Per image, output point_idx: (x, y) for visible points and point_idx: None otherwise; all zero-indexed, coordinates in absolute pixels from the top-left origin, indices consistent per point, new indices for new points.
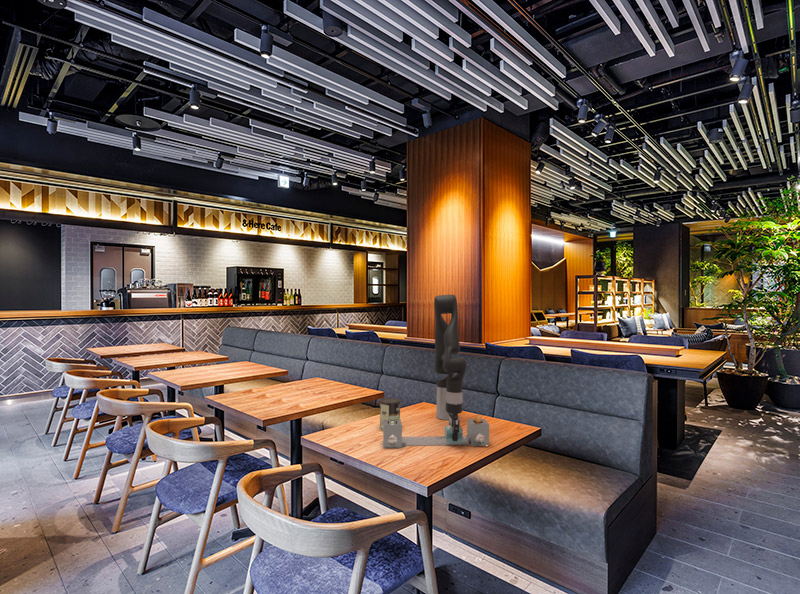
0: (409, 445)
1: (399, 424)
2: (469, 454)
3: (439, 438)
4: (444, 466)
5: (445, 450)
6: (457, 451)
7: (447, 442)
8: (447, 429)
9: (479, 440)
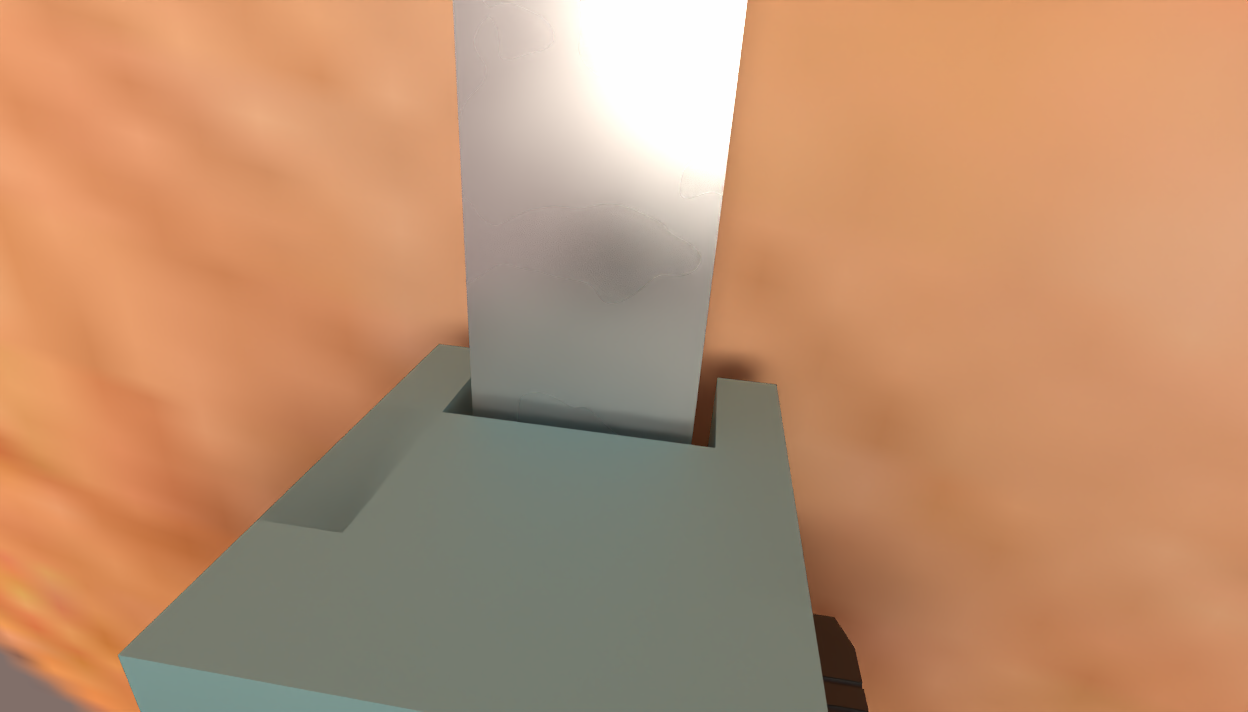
0: None
1: None
2: (104, 560)
3: (472, 160)
4: None
5: (196, 201)
6: (192, 429)
7: (430, 363)
8: (174, 681)
9: None
